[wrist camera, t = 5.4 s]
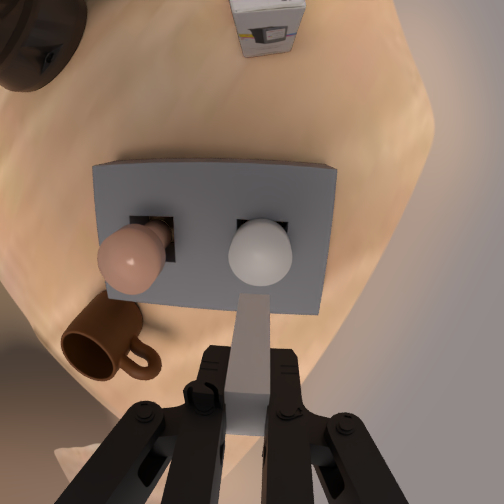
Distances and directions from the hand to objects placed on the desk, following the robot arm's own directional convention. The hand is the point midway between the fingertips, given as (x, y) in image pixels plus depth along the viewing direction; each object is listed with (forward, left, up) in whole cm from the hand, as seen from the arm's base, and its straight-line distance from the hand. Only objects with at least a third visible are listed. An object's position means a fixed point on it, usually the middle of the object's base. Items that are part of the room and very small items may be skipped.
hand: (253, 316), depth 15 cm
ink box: (-22, -1, -17) cm, 28 cm away
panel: (0, -5, -17) cm, 17 cm away
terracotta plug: (0, -10, -13) cm, 16 cm away
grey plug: (0, 0, -16) cm, 16 cm away
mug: (+13, -16, -17) cm, 27 cm away
